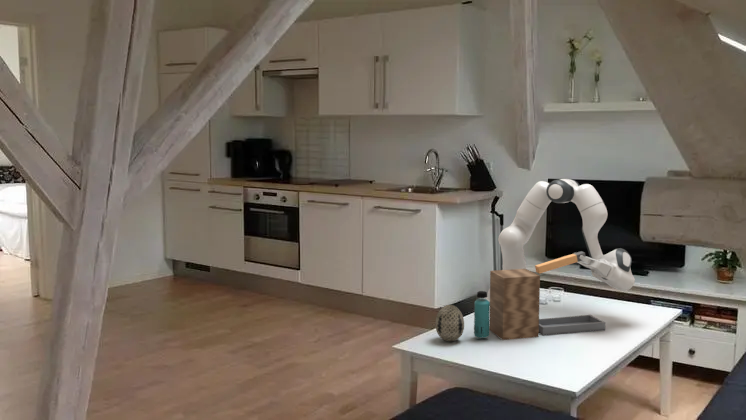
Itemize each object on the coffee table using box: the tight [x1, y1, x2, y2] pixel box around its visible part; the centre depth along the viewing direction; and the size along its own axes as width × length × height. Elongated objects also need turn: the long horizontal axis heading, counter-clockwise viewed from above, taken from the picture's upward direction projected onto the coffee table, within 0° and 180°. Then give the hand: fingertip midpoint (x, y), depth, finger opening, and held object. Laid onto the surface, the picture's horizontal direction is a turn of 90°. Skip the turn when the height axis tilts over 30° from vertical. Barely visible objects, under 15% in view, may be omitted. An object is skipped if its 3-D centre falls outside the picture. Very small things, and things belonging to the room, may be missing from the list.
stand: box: [489, 268, 541, 341], centre depth 297 cm, size 16×14×26 cm
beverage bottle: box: [473, 290, 490, 338], centre depth 290 cm, size 6×7×20 cm
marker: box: [534, 250, 586, 275], centre depth 299 cm, size 22×3×3 cm, turn 103°
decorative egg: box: [435, 304, 465, 342], centre depth 288 cm, size 12×12×15 cm
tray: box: [539, 314, 606, 337], centre depth 304 cm, size 29×12×4 cm, turn 103°
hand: (577, 255), depth 301 cm, fingers closed on marker, 3 cm apart
